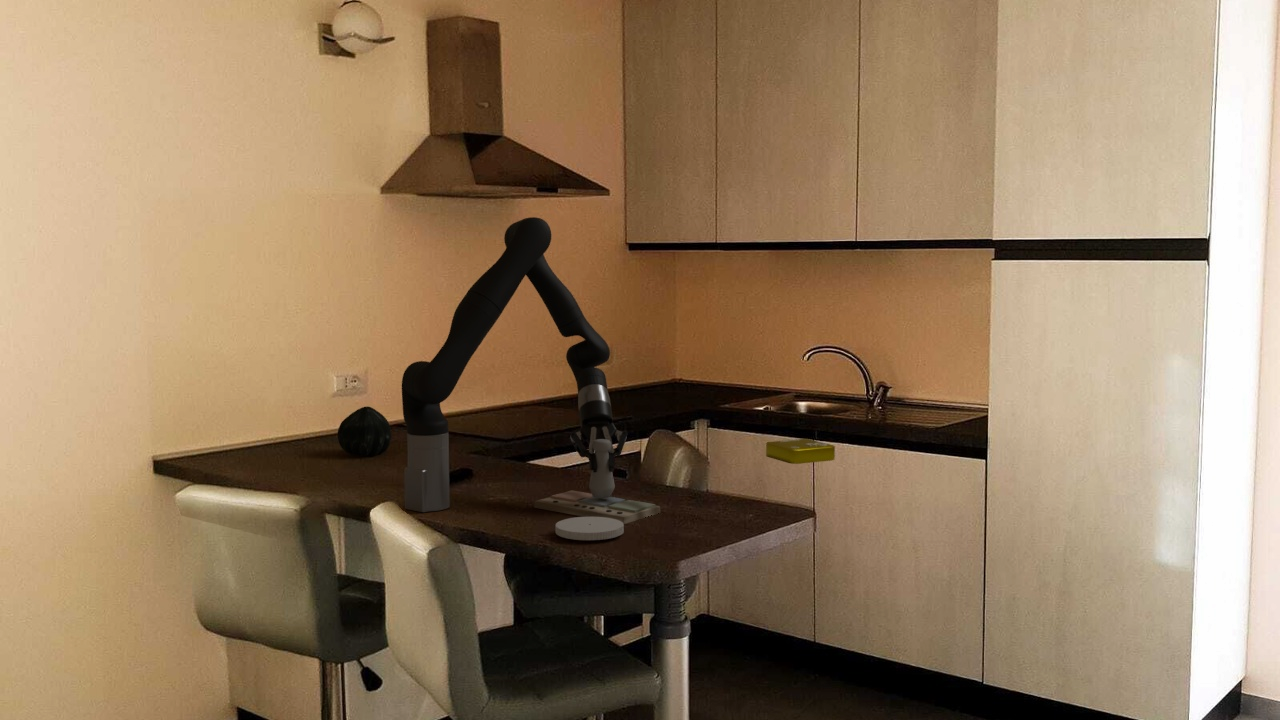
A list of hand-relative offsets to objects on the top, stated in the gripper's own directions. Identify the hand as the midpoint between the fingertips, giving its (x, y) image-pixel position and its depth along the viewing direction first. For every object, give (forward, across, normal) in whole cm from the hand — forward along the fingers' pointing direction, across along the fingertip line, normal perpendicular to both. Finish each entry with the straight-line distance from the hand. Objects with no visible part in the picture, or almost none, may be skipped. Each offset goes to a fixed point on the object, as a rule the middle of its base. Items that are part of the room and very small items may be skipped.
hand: (603, 469), depth 255 cm
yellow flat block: (-32, +65, +46) cm, 86 cm away
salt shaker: (+3, 0, +6) cm, 7 cm away
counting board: (+6, -2, +7) cm, 9 cm away
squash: (-52, -56, +66) cm, 101 cm away
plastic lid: (+22, -6, -8) cm, 24 cm away
